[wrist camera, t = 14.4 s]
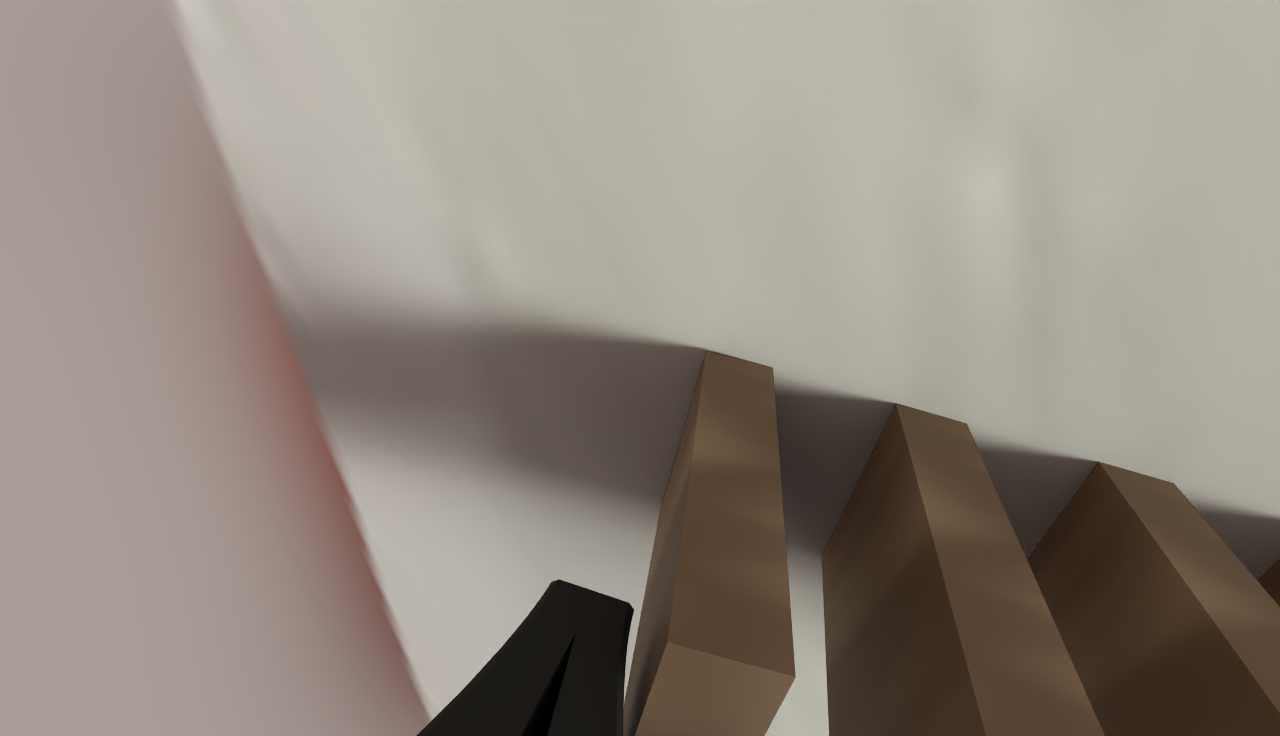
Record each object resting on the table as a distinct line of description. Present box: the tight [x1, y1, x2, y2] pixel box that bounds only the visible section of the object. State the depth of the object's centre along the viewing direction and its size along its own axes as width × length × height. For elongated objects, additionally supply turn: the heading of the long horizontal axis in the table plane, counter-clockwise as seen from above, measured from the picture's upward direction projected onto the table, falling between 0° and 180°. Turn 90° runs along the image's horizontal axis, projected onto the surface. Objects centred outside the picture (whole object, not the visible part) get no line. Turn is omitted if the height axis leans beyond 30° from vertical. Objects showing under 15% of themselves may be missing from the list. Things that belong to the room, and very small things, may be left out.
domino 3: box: [1027, 462, 1280, 736], centre depth 11 cm, size 2×5×8 cm, turn 169°
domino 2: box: [822, 404, 1105, 736], centre depth 12 cm, size 2×5×8 cm, turn 169°
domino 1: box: [623, 351, 795, 736], centre depth 12 cm, size 2×5×8 cm, turn 169°
